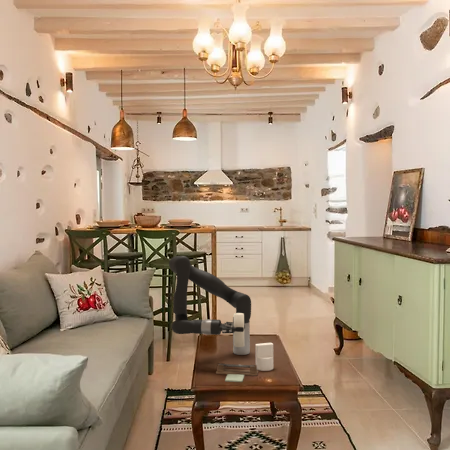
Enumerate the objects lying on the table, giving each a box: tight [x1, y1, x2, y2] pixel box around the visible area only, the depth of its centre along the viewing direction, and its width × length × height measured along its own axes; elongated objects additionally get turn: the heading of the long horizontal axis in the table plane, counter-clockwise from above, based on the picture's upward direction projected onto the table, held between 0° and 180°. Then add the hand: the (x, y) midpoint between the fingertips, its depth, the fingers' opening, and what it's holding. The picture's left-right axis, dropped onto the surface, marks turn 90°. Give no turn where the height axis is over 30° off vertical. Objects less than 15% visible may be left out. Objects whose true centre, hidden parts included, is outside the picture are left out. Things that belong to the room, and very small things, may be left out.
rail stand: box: [215, 362, 259, 377], centre depth 224 cm, size 5×20×4 cm, turn 81°
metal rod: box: [219, 363, 255, 369], centre depth 224 cm, size 1×18×1 cm, turn 81°
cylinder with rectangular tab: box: [254, 342, 274, 372], centre depth 231 cm, size 9×9×12 cm
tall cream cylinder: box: [233, 312, 245, 347], centre depth 232 cm, size 5×5×16 cm
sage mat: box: [224, 374, 245, 383], centre depth 217 cm, size 8×8×1 cm
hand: (244, 328), depth 231 cm, fingers closed on tall cream cylinder, 5 cm apart
